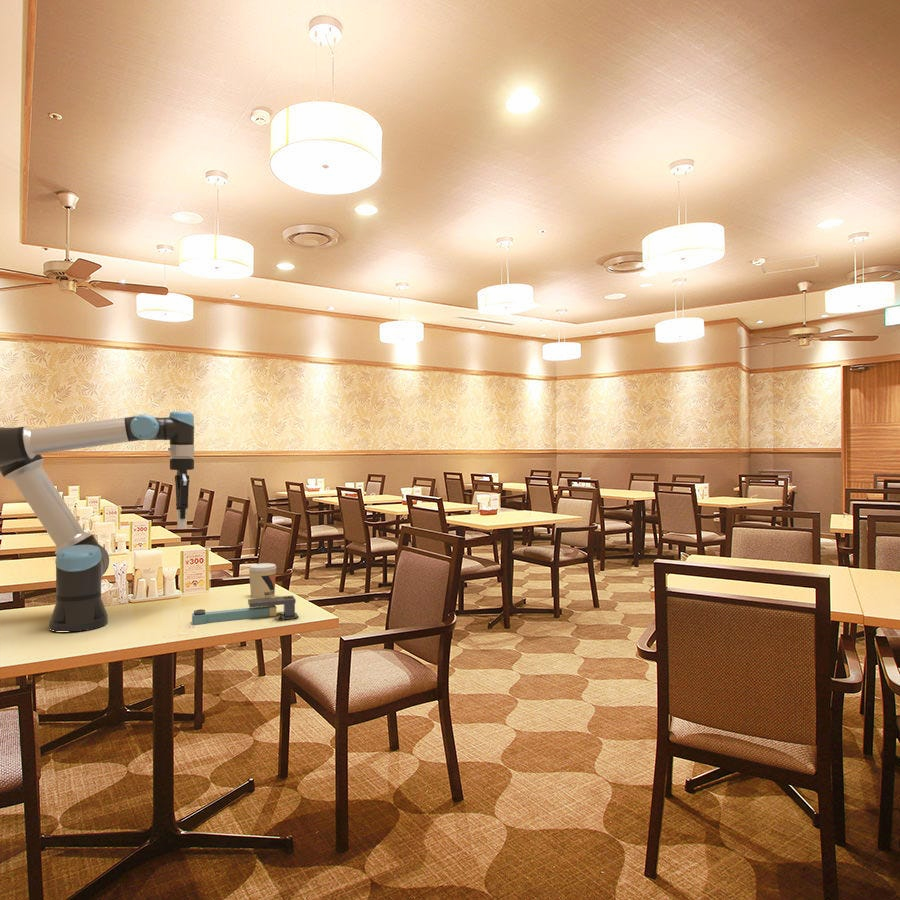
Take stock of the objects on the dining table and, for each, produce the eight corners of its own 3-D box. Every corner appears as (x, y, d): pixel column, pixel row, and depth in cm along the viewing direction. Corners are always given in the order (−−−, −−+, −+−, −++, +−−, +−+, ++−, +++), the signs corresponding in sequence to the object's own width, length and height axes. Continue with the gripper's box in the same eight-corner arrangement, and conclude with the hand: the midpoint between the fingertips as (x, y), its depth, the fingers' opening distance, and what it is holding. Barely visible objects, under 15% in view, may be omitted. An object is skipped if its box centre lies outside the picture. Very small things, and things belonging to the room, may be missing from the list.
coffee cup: (266, 603, 219) (266, 568, 219) (243, 601, 222) (243, 566, 222) (281, 597, 227) (281, 563, 228) (259, 595, 231) (259, 562, 231)
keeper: (249, 624, 192) (249, 603, 192) (248, 619, 198) (248, 599, 198) (298, 619, 198) (298, 599, 198) (295, 614, 203) (295, 595, 203)
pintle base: (184, 633, 183) (184, 616, 183) (178, 625, 191) (178, 609, 191) (221, 628, 188) (221, 611, 188) (213, 620, 196) (213, 605, 196)
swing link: (192, 624, 187) (192, 616, 187) (192, 621, 191) (192, 612, 191) (276, 615, 197) (276, 607, 197) (274, 612, 200) (274, 604, 200)
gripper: (166, 458, 217) (167, 527, 217) (172, 458, 206) (172, 531, 206) (190, 457, 221) (190, 526, 221) (197, 458, 210) (197, 529, 210)
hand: (182, 528), depth 214 cm, fingers closed
